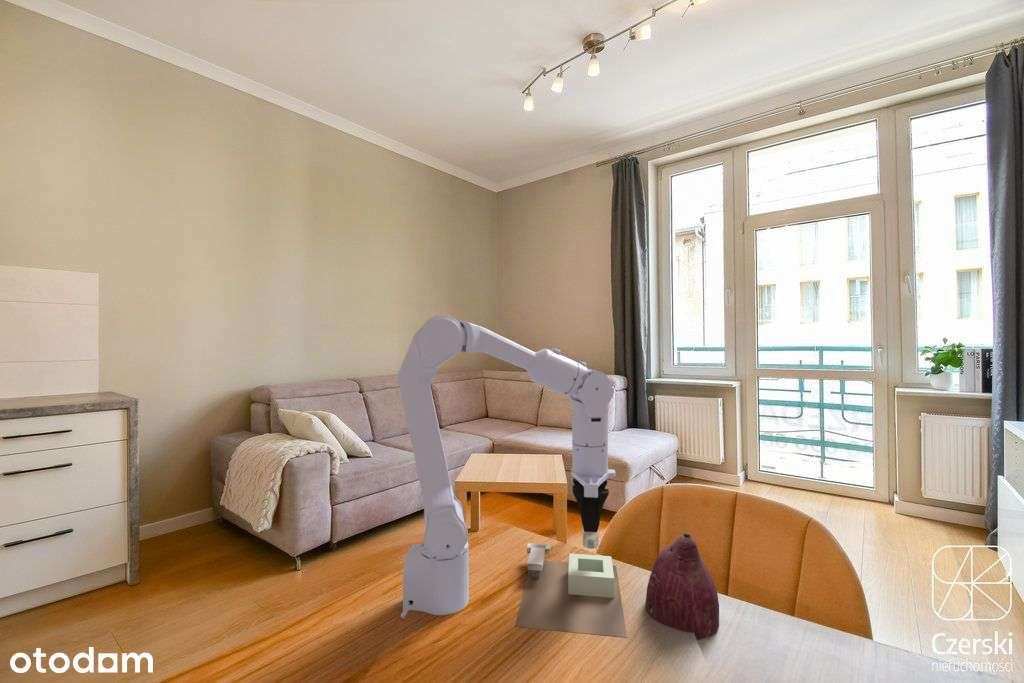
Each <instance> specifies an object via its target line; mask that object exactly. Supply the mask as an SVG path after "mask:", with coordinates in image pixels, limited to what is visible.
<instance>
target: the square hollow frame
mask: <svg viewBox="0 0 1024 683" xmlns="http://www.w3.org/2000/svg"><path fill="white" fill-rule="evenodd" d="M568 554H569V556H568V562H569V570H568V594H574V595H586V596H598V597H609V598H614V573H613V566H614V565H613V560H612V556H609V555H598V554H595V555H594V554H582V553H568Z"/></svg>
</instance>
